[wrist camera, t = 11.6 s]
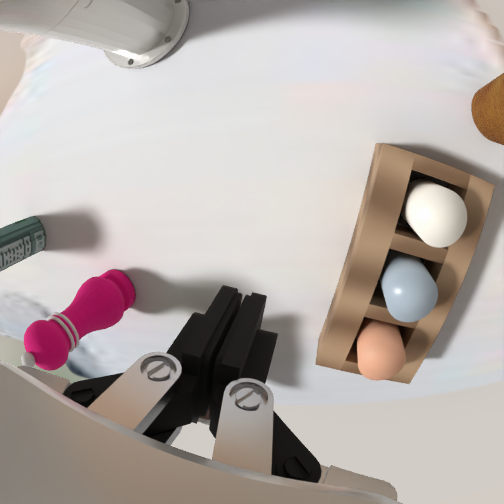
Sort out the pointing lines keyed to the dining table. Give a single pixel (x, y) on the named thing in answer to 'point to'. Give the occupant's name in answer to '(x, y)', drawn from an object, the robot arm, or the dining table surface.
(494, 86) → the disposable coffee cup
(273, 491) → the robot arm
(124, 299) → the pepper mill
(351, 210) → the dining table surface
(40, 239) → the dark green cylinder
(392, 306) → the slate egg
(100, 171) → the dining table surface
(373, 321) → the terracotta egg
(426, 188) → the white egg
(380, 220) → the wooden egg rack
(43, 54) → the dining table surface
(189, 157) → the dining table surface
